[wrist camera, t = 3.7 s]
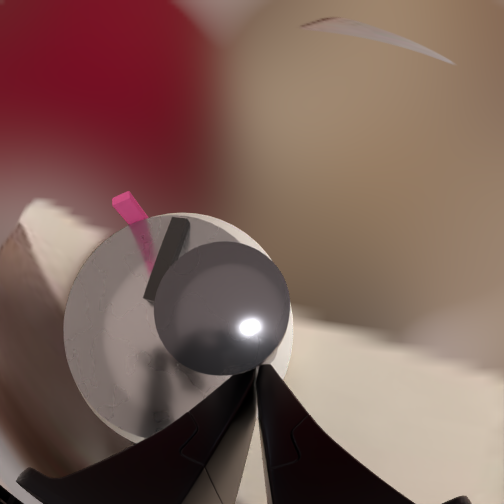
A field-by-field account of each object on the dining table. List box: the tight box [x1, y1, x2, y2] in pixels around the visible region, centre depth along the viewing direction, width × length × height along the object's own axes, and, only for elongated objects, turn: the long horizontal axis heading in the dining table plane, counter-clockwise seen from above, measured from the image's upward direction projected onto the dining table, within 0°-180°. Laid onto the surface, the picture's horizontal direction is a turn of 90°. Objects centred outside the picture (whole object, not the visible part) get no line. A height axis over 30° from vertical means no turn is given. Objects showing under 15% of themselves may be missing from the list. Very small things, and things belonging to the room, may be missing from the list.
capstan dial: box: [63, 215, 290, 438], centre depth 10 cm, size 13×14×10 cm
